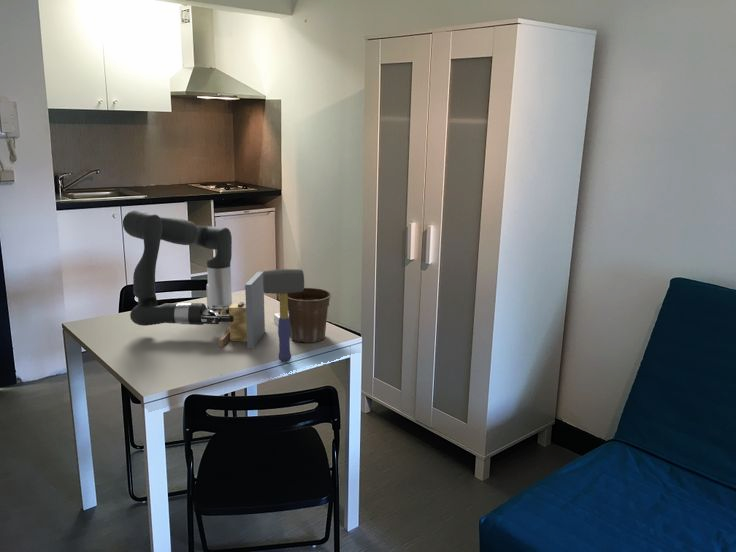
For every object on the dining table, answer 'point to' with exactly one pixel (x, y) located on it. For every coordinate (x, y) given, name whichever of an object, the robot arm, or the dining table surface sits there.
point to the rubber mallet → (283, 302)
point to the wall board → (251, 312)
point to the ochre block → (238, 322)
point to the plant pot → (308, 314)
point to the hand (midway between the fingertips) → (236, 315)
